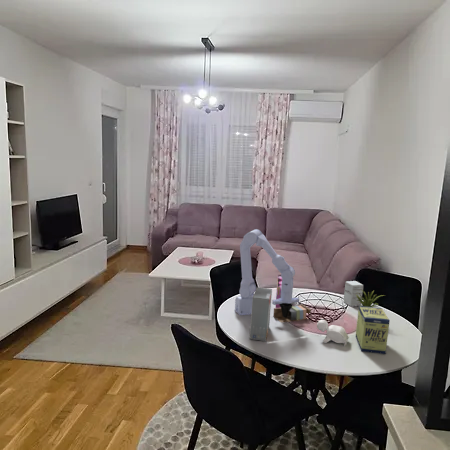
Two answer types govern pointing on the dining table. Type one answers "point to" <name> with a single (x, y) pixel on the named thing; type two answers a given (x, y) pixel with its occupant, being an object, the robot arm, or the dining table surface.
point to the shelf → (280, 317)
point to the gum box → (278, 289)
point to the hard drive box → (260, 314)
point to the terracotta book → (303, 312)
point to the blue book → (300, 312)
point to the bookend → (292, 314)
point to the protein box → (372, 329)
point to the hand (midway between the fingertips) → (284, 316)
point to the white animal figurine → (333, 332)
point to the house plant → (369, 300)
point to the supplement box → (352, 293)
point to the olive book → (297, 312)
